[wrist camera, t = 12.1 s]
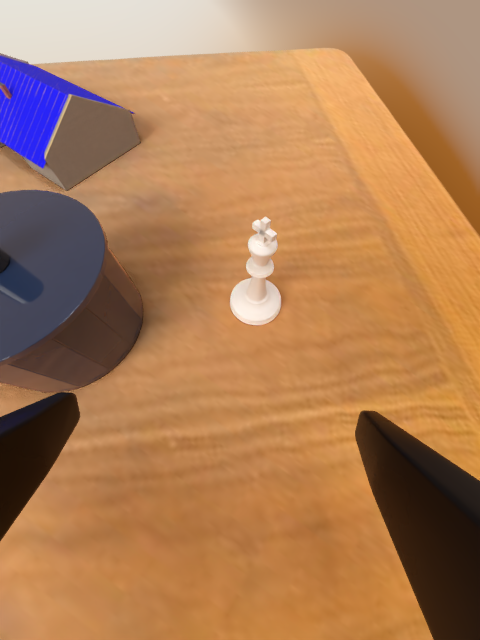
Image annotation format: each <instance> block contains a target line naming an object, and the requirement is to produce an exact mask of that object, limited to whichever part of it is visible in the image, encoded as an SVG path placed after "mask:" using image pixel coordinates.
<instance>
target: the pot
mask: <svg viewBox="0 0 480 640" xmlns="http://www.w3.org/2000/svg"><path fill="white" fill-rule="evenodd" d="M142 320H143V305H142V300H141V296H140V294H139V292H138V290H137V289H136V287H135V286H134V284H133V282H132V280H131V279H130V277H129V276H128V274H127V273H126V271H125V270H124V269H123V267H122V266H121V264H120V263H119V261H118V260H117V258H116V257H115V255H114V254H113V253H112V251H111V250H110V248H109V247H108V259H107V265H106V269H105V273H104V276H103V278H102V280H101V283H100V285H99V287H98V289H97V291H96V292H95V294H94V296H93V297H92V299H91V300H90V302H89V303H88V304H87V306H86V307H85V308H84V310H83V311H82V312H81V313H80V314H79V315H78V316H77V317H76V318H75V319H74V320H73V322H72V323H71V324H70V325H68V326H67V327H66V328H65V329H64V330H63V331H61V332H60V333H59V334H58V335H57V336H55V337H54V338H53V339H51V340H50V341H48V342H47V343H45V344H44V345H43V346H41V347H39V348H38V349H36V350H34V351H33V352H31V353H29V354H27V355H26V356H24V357H21V358H19V359H17V360H15V361H13V362H11V363H8V364H6V365H3V366H0V383H3V384H7V385H12V386H16V387H21V388H25V389H30V390H35V391H40V392H44V393H50V392H64V391H70V390H73V389H77V388H80V387H83V386H85V385H88V384H90V383H92V382H94V381H96V380H98V379H100V378H101V377H103V376H104V375H106V374H107V373H109V372H110V371H111V370H112V369H113V368H115V367H116V366H117V365H118V364H119V363H120V362H121V361H122V360H123V359H124V358H125V356H126V355H127V354H128V353H129V351H130V350H131V348H132V347H133V345H134V343H135V341H136V339H137V337H138V335H139V332H140V329H141V326H142Z"/></svg>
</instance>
